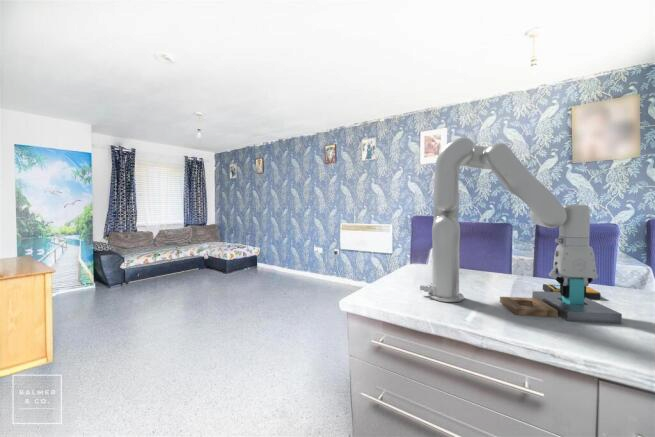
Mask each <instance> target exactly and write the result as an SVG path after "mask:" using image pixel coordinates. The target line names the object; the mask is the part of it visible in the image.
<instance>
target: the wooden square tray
mask: <svg viewBox="0 0 655 437" xmlns="http://www.w3.org/2000/svg"><path fill="white" fill-rule="evenodd" d="M499 303H500V304H501V305H503V306H504V307H505V308H506V309H507V310H508V311H510V313H512V314H514V315H516V316H530V317H531V316H533V317H534V316H535V317H550V318H552V317H553V318H557V317H559V316H558V311H557V310H556V309H554V308H552V307H551V306H549V305H547V304H546V303H544V302H542V301H541V300H539V299H537V298H532V297H519V296H516V297H515V296H499Z"/></svg>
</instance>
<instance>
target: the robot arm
mask: <svg viewBox="0 0 655 437" xmlns="http://www.w3.org/2000/svg"><path fill="white" fill-rule="evenodd" d="M461 166H462V167H469V168H473V169H475V168H476V169H482V170H491V171H492V173H493V174H494V175H495V176H496V179H498V180H499V181H500V183H501V184H502V186H503V187H504V188H505V189H506V190H507V191H508V192H509V193H511V194H512V195H513V196H515V197H517V198H518V199H520V201H522V202H523V203H524V204H525V205H526V206H527V207H528V208H529V209H530V212H529V218H530V221H531V222H533V224H535V225H537V226H541V227H543V228H545V227H546V228H550V229H555V228H558V231H559V232H558V238H555V239H554V242H555V243H558V245H557V246H556V248H555V251H554V256H553V257H554V258H553V265H552V266H553V268H552V269H551V270H550V272H549V273H548V276H549V277H551V278H552V279H554V280H555V281H556V282H557V283H558V285H560V293H561V295H562V296H563V297H565V298H569V286H567V284H568V280H569V277H571V278H581V279H584V298H585V295H586V287H589V284H591V283H592V282H593V281H594V280H596V279H598V278H599V277H600V276H599V274H598V273H597V268H596V267H597V265H596V258H595V252H594V248H593V247H592V246H590V233H591V232H590V230H591V229H590V226H591V224H590V222H591V221H590V220H591V219H590V217H591V209H590V206H589V205H587V204H564V205H562V203H561V202H560V201H559V200H558V199H557V197H556V196H555V195H554V193H552V192H551V191H550V189H548V188H547V187H546V186H545V185H544V184H543V183H542V182H541V181H539V179H537V178H536V177H535V176H534V175H533V174H532V173H531V172H530V171H529V170H528V169H527V167H526V166H525V165H524V164H523V163H522V161H521V160H520V159H519V158H518V157H517V155H516V154H515V152H513V150H511V148H510V147H509V146H508V145H506V144H505V143H502V142H497V143H494V144H491V145H489V146H482V145H475V144H474V142H473V140H472V139H470V138H468V137H458V138H456V139H454V140H451V141H450V142H449V143H447V144H446V145H445V146H443V148H442V149H441V151H440V152H439V154H438V156H437V158H436V161H435V166H434V183H433V184H434V185H433V187H434V188H433V197H432V198H433V199H432V201H433V223H432V226H431V228H432V229H431V235H432V236H431V239H432V240H431V242H432V244H431V245H432V246H431V247H432V279H431V280H432V282H430V284H428V285H423V284H420V285H419V291H423V292H424V293H425V292H426V293H427V296H428V298H430V299H432V300H435V301H439V302H443V303H459V302H462V301H464V298H465V297H464V294H463V293H461V292H460V244H461V243H460V239H461V226H460V222H459V206H460V204H459V203H460V193H459V192H460V191H459V189H460V188H459V185H460V183H459V181H460V168H461ZM558 275H559V276H558Z"/></svg>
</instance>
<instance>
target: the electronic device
mask: <svg viewBox="0 0 655 437" xmlns="http://www.w3.org/2000/svg"><path fill="white" fill-rule="evenodd" d="M543 290H544V291H543ZM542 291H543V292H560V284H549V283H543V284H542ZM585 297H586V298H588V299H590V300H600V299H601V297H602V295H601V293H600V291H597V290H595V289H594V288H592V287H589V286H586V295H585Z"/></svg>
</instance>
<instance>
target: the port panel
mask: <svg viewBox="0 0 655 437" xmlns="http://www.w3.org/2000/svg"><path fill="white" fill-rule="evenodd" d="M531 298H537V299H539V300H541V301H542V302H544V303H546V304H547V305H549V306H551V307H552V308H554V309H556V310H557V311H558V316H557V317H560V318H561V319H563V320H565V321H567V322H577V323H578V322H580V323H596V324H614V325H616V324H617V325H622V322H623V320H622V319H623V313H621V312H618V311H616V310H614V309H612V308H609V307H607V306H605V305H603V304H601V303H599V302H596V301H595V300H593V299H588V298H586V297H585V298H584V305H581V304H567V303H565V302H563V301H562V295H561V293H560V292H545V291H539V290H538V291H535V290H534V291H533V290H532V297H531Z"/></svg>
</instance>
